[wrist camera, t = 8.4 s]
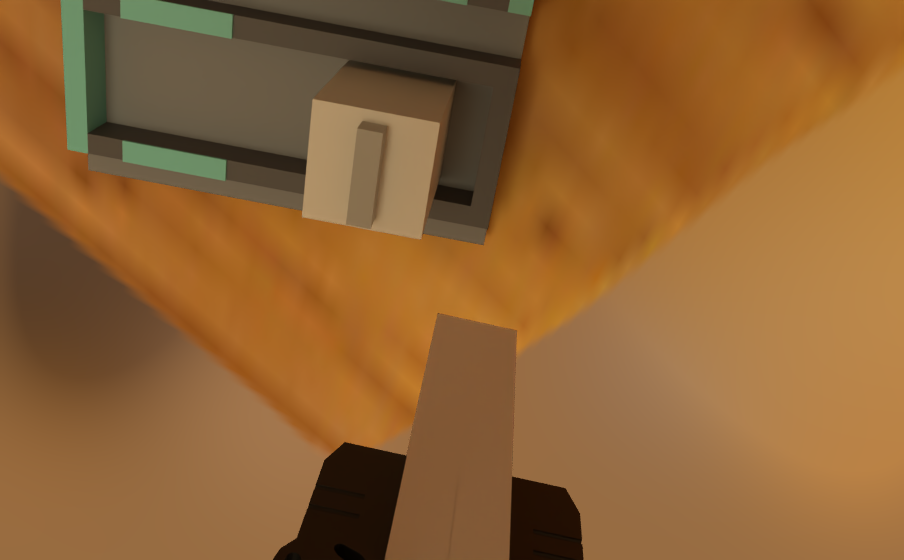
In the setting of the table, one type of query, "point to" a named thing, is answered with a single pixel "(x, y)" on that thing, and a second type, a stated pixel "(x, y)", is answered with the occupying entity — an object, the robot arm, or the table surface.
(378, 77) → the beige handled cube
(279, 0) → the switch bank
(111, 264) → the table surface
